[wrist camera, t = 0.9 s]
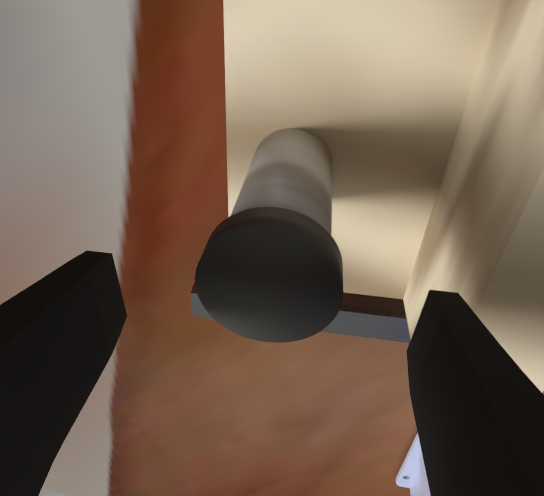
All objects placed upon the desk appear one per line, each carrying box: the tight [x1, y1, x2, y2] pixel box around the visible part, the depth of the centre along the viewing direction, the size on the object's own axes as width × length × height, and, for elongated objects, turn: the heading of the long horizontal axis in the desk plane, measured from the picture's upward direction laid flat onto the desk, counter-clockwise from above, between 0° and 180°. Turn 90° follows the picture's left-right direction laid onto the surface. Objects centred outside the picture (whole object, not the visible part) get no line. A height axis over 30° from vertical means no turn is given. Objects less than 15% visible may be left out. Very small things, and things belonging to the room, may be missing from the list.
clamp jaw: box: [195, 0, 544, 392], centre depth 13 cm, size 12×11×8 cm
